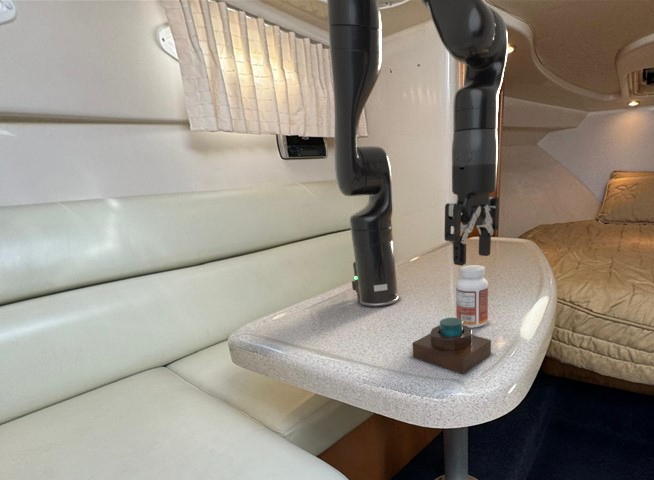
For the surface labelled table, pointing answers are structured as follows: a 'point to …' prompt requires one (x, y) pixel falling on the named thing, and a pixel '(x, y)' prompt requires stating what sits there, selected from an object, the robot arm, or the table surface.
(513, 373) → the table surface
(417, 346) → the push button base
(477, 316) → the pill bottle
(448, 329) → the teal push button
